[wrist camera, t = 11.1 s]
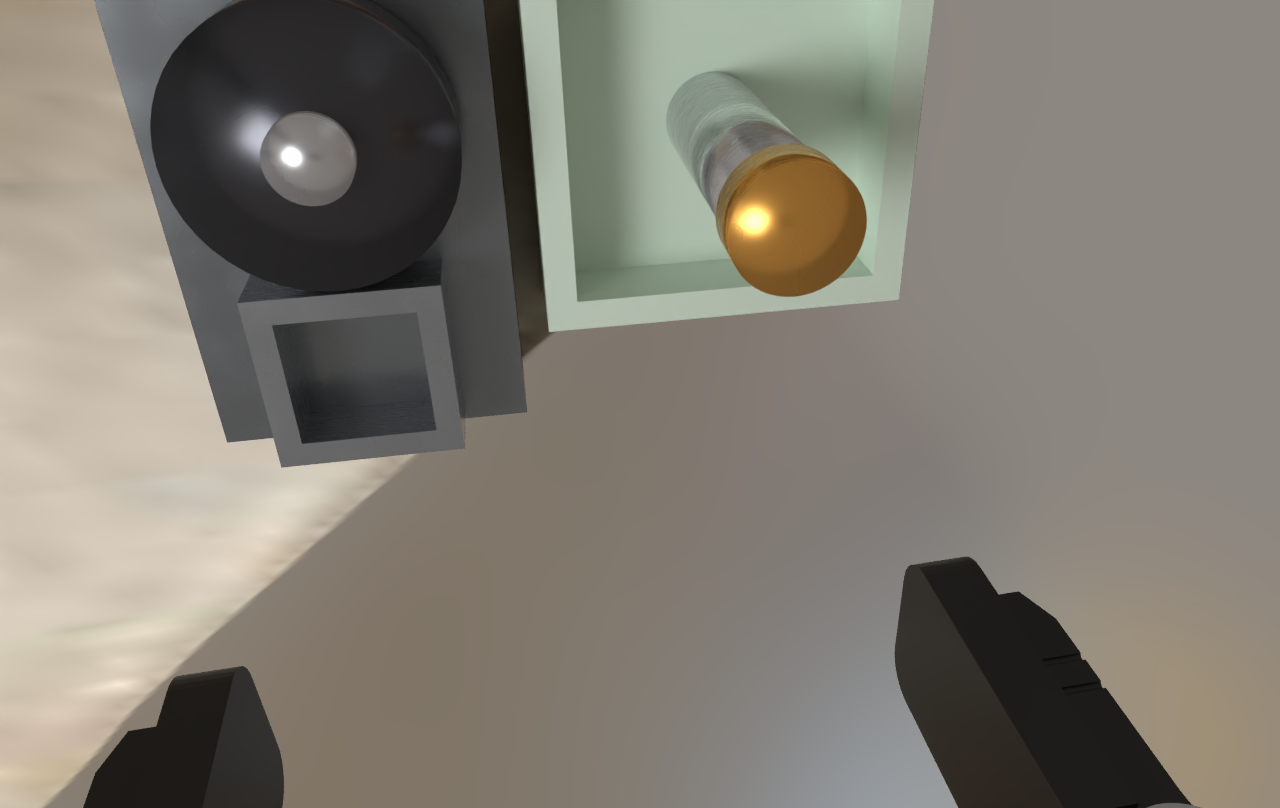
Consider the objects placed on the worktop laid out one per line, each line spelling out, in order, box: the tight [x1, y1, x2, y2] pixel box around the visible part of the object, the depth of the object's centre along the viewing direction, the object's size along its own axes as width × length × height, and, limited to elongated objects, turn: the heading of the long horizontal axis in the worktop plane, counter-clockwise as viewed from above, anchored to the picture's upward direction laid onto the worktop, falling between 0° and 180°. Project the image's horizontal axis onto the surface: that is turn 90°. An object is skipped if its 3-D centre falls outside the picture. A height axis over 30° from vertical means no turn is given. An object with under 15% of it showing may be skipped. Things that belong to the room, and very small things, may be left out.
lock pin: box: [666, 71, 867, 297], centre depth 28 cm, size 3×3×10 cm
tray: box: [517, 0, 934, 332], centre depth 31 cm, size 12×12×3 cm
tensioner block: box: [94, 0, 527, 467], centre depth 30 cm, size 14×10×6 cm
